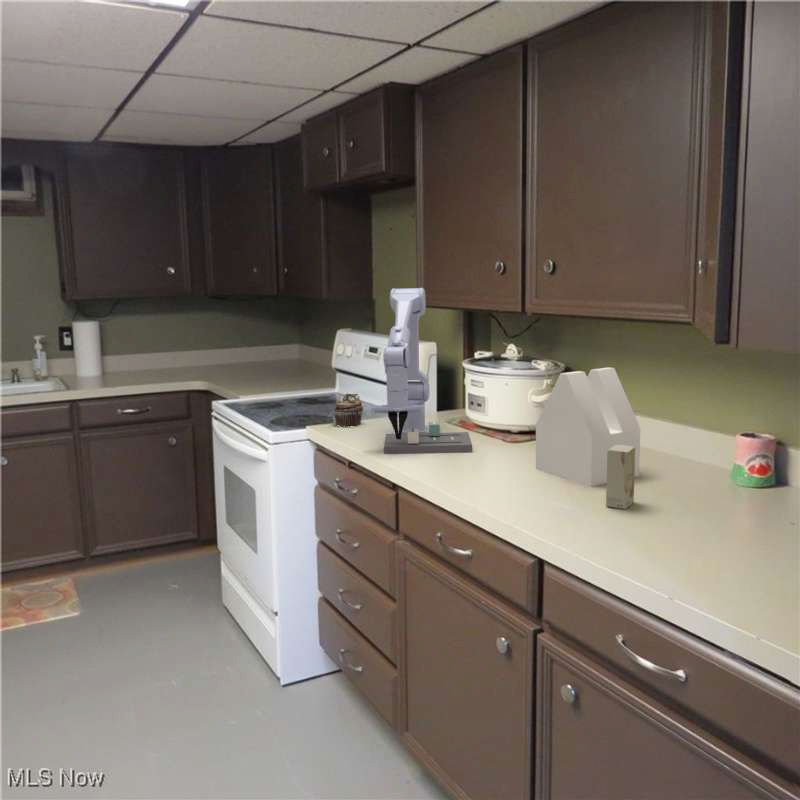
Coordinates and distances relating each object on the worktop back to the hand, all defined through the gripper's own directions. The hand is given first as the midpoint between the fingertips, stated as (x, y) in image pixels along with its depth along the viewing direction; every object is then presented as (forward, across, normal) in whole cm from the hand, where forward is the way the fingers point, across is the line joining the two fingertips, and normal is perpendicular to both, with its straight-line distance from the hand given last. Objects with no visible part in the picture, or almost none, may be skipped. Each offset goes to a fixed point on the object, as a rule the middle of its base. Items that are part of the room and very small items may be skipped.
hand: (398, 438), depth 213 cm
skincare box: (+4, +48, -51) cm, 70 cm away
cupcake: (+4, -17, +36) cm, 40 cm away
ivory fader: (+1, +4, 0) cm, 4 cm away
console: (+3, +8, +4) cm, 10 cm away
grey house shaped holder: (+4, +46, -25) cm, 53 cm away
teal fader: (+1, +10, +9) cm, 14 cm away
